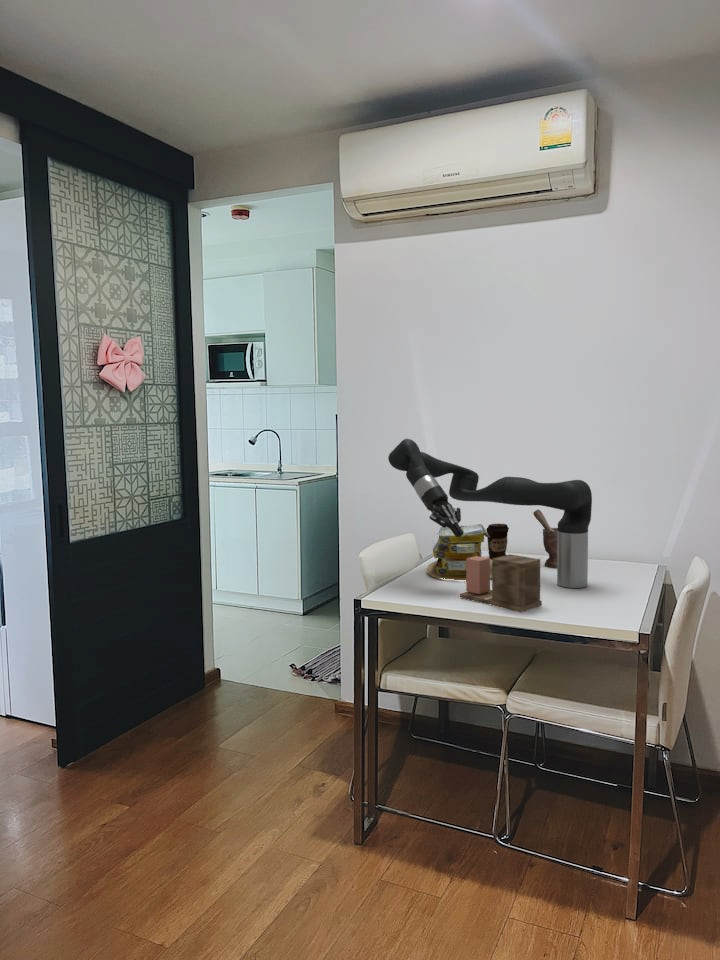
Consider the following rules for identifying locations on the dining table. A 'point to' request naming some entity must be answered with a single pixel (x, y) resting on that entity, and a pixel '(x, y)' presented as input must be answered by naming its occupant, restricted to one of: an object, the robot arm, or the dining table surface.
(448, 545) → the stacked packages on board
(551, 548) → the mortar and pestle
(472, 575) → the terracotta plug
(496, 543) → the coffee cup
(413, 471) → the robot arm
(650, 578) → the dining table surface
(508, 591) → the walnut socket base
